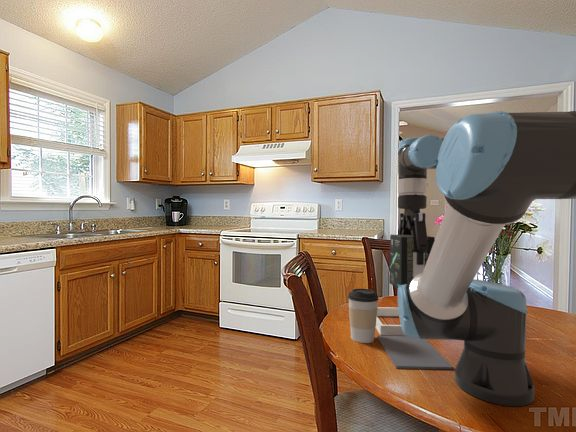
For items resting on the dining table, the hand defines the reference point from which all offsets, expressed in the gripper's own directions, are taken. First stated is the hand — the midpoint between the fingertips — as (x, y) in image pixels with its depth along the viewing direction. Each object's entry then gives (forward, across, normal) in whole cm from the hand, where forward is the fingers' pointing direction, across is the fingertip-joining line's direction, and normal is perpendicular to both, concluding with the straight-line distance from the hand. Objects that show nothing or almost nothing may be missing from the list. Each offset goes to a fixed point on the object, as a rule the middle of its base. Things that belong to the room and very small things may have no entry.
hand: (411, 273), depth 95 cm
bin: (+21, +21, -3) cm, 30 cm away
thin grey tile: (+22, -1, 0) cm, 22 cm away
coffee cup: (+22, +8, +12) cm, 26 cm away
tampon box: (+4, 0, 0) cm, 4 cm away
